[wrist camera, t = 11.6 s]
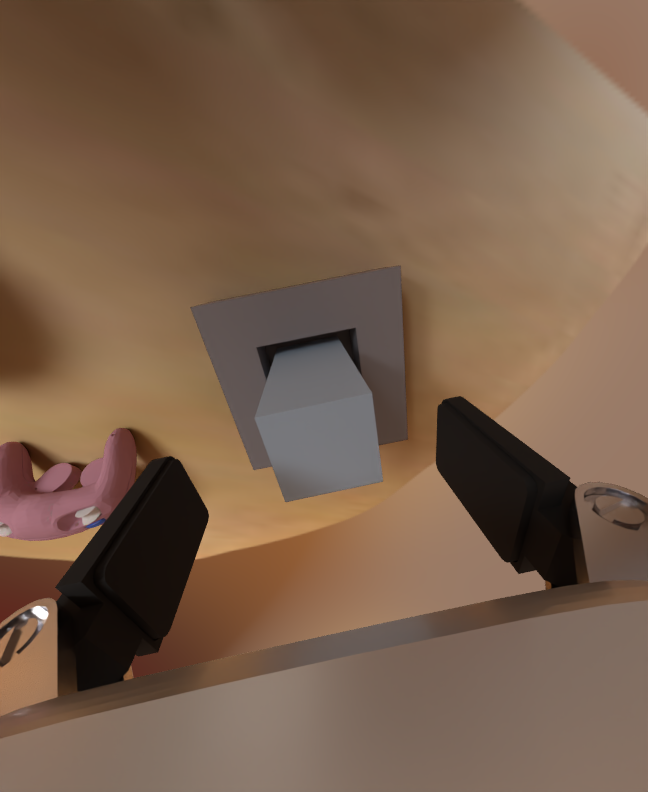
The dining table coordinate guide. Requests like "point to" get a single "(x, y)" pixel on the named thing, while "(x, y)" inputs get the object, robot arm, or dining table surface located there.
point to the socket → (303, 322)
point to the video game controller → (63, 491)
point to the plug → (318, 421)
